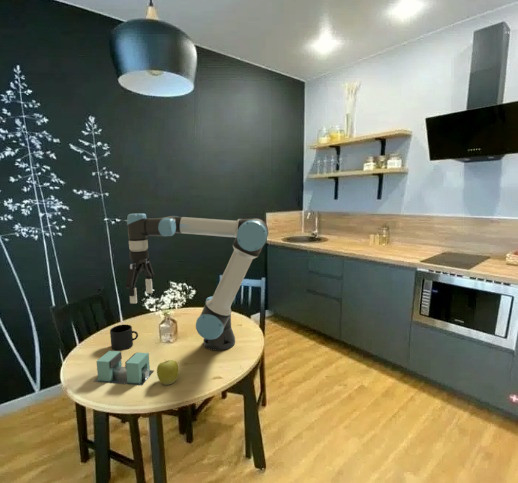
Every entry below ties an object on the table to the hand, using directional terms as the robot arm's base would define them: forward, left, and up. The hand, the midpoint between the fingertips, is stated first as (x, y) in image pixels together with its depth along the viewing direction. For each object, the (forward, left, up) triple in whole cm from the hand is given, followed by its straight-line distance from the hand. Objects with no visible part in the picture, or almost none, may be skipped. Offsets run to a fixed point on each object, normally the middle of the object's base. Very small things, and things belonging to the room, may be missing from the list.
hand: (141, 297), depth 135 cm
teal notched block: (+6, +17, -26) cm, 32 cm away
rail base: (0, +17, -27) cm, 32 cm away
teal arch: (-6, +17, -26) cm, 32 cm away
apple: (-18, +18, -27) cm, 37 cm away
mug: (+14, -7, -27) cm, 31 cm away
